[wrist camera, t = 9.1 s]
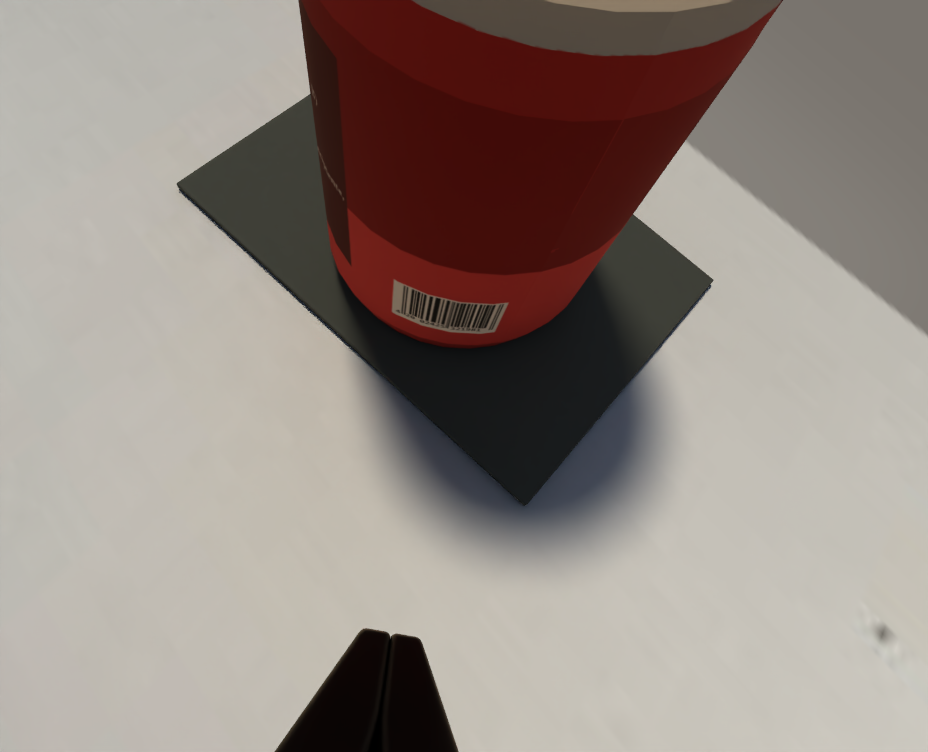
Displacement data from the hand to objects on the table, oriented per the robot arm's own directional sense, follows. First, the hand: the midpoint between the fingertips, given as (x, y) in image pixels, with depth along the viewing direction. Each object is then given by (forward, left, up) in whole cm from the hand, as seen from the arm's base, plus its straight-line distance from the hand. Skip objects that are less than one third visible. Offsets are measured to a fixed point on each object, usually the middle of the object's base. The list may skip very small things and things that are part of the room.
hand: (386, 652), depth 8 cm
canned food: (+4, +10, -7) cm, 13 cm away
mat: (+4, +11, -7) cm, 13 cm away
